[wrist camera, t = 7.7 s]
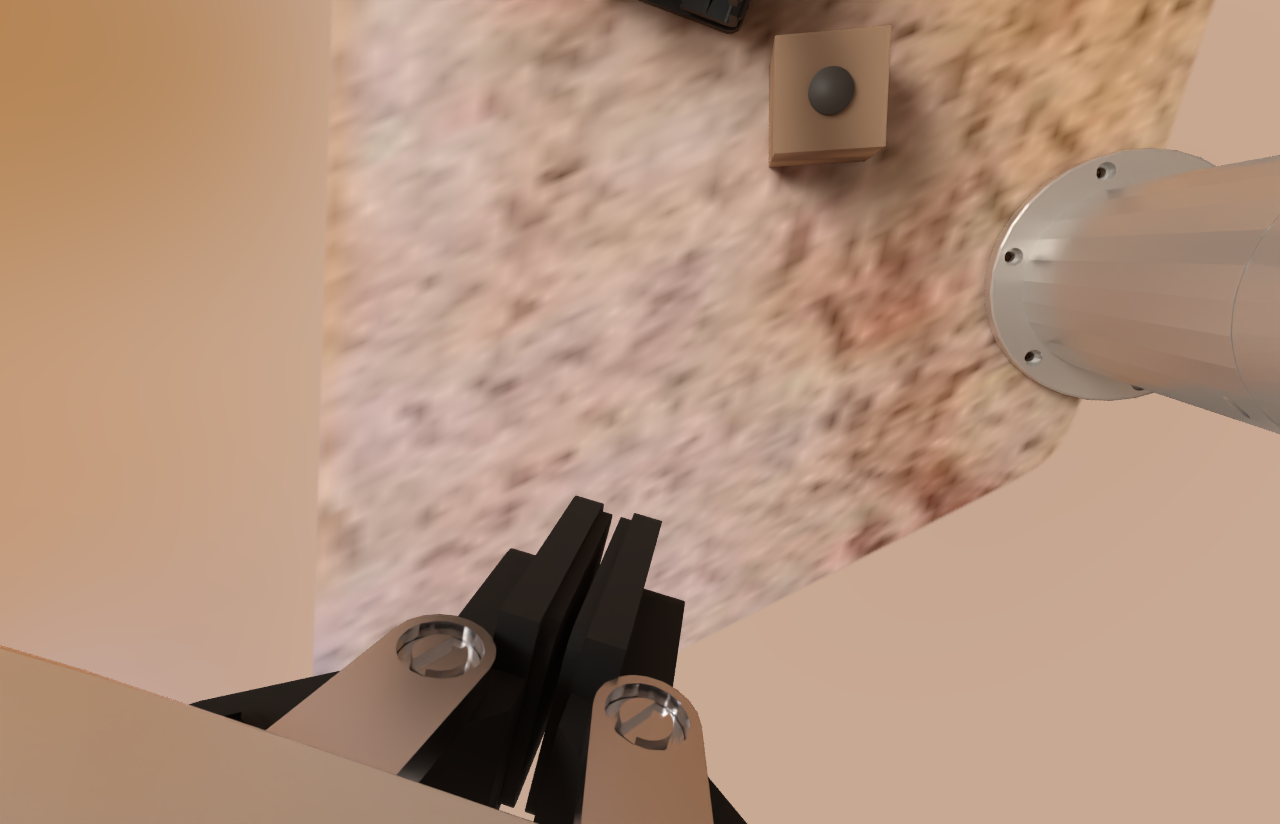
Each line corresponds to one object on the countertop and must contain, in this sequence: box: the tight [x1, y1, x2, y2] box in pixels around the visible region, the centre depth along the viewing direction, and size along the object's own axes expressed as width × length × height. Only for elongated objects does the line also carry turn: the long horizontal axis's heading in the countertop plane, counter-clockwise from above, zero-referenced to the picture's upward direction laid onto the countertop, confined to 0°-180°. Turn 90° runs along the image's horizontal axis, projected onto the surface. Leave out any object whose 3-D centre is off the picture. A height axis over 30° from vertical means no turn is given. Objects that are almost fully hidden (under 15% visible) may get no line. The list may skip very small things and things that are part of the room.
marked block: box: [769, 25, 891, 167], centre depth 31 cm, size 5×5×5 cm
